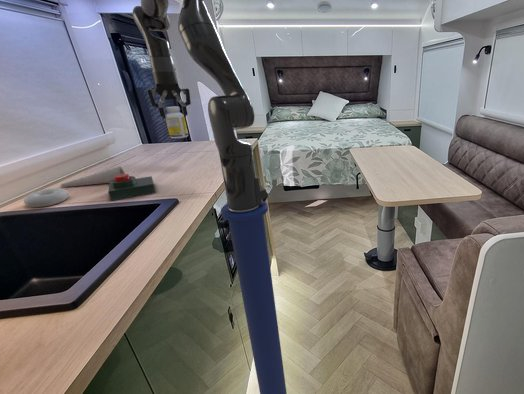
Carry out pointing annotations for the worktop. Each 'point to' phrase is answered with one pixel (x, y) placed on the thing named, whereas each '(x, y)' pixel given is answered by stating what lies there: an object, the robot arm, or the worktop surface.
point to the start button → (121, 177)
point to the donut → (46, 197)
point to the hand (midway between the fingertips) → (174, 117)
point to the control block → (131, 188)
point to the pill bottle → (176, 122)
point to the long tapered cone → (95, 178)
